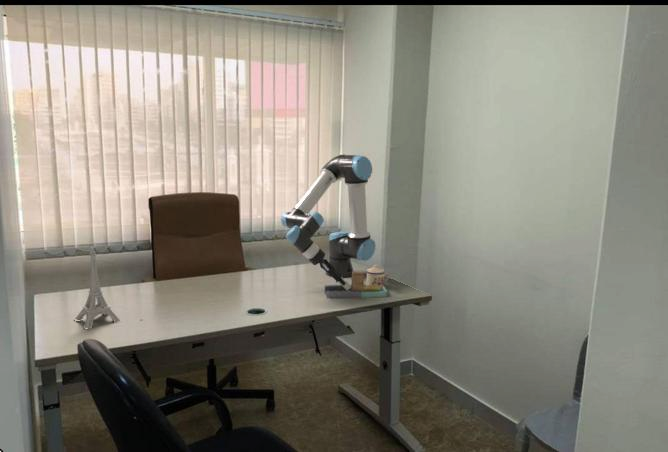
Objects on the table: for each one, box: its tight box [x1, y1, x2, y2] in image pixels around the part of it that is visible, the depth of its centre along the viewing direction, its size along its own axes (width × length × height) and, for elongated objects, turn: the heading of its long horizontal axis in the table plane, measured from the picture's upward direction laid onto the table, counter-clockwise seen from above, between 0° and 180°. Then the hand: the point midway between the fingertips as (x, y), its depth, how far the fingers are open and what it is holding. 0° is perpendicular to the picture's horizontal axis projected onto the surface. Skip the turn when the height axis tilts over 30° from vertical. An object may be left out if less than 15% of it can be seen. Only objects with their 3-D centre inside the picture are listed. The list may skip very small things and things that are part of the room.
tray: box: [361, 285, 389, 298], centre depth 234 cm, size 10×12×3 cm
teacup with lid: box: [365, 264, 389, 287], centre depth 246 cm, size 12×9×12 cm
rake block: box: [351, 270, 365, 292], centre depth 233 cm, size 5×5×10 cm
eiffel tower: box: [74, 246, 121, 328], centre depth 194 cm, size 13×13×30 cm
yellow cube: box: [371, 285, 381, 292], centre depth 234 cm, size 4×4×4 cm
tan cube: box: [364, 284, 372, 292], centre depth 234 cm, size 4×4×4 cm
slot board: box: [324, 284, 363, 299], centre depth 233 cm, size 12×16×4 cm
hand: (349, 288), depth 233 cm, fingers closed
